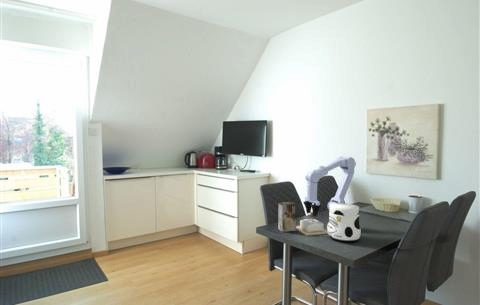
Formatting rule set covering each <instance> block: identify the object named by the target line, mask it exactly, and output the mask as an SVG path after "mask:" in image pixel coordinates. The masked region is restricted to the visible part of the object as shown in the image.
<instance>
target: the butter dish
mask: <svg viewBox="0 0 480 305" xmlns="http://www.w3.org/2000/svg"><path fill="white" fill-rule="evenodd" d="M307 220H309V219H308V218H306V219H300V220H299V225H296V231H298V230H299V231H298V232H300V233H302V234H303V235H305V236H314V235H315V236H316V235H326V234H328V232H327V229H326V228H324V225H325V224H324V223H323V222H321V221H319V220H317V219H315V218H313V220H315V221H317V222H319V224H307V223H305V222H304V221H307Z"/></svg>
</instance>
